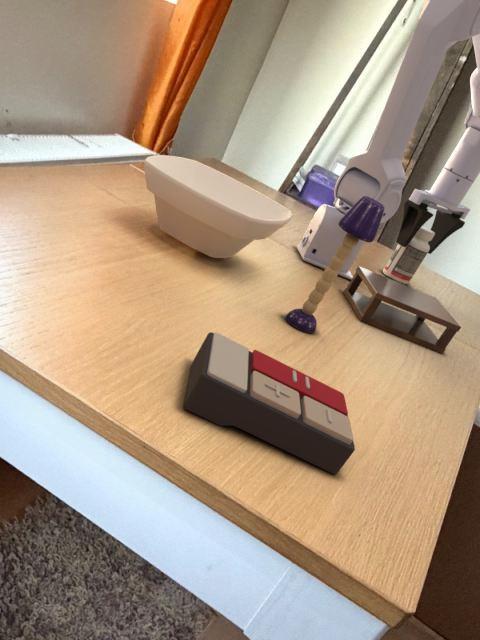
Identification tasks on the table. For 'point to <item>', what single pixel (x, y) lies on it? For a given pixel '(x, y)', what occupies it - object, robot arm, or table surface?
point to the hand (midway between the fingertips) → (413, 248)
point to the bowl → (209, 206)
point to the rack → (397, 319)
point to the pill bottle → (409, 257)
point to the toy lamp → (340, 257)
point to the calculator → (270, 402)
